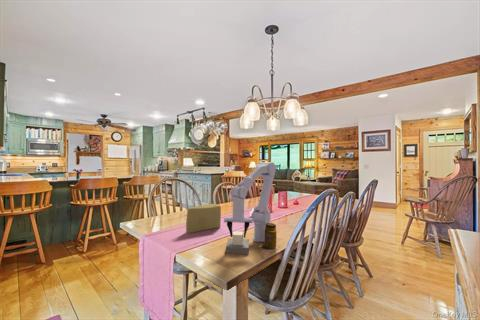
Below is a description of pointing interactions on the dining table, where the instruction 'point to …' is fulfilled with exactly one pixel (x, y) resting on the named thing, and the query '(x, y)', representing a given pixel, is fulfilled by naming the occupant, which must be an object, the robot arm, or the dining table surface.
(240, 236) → the cube
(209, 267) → the dining table surface
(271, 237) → the condiment
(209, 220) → the olive rectangular box
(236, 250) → the base
